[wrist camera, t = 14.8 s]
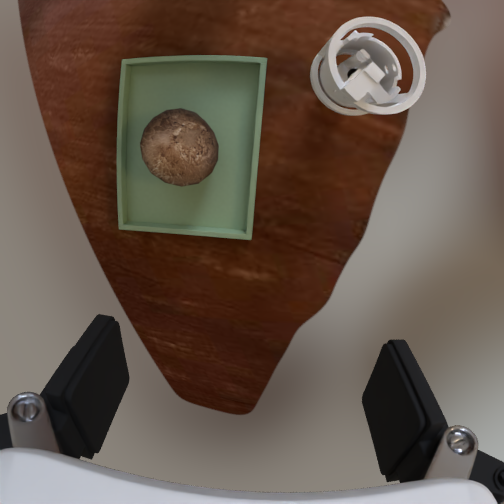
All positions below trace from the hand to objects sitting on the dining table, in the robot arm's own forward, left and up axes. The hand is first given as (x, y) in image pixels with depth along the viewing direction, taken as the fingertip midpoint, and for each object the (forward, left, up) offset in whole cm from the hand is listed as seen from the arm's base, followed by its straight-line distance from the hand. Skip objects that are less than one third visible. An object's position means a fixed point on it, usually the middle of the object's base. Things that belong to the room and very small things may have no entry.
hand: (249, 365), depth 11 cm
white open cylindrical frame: (-13, +7, -26) cm, 30 cm away
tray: (-5, -8, -26) cm, 28 cm away
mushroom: (-5, -8, -26) cm, 28 cm away
